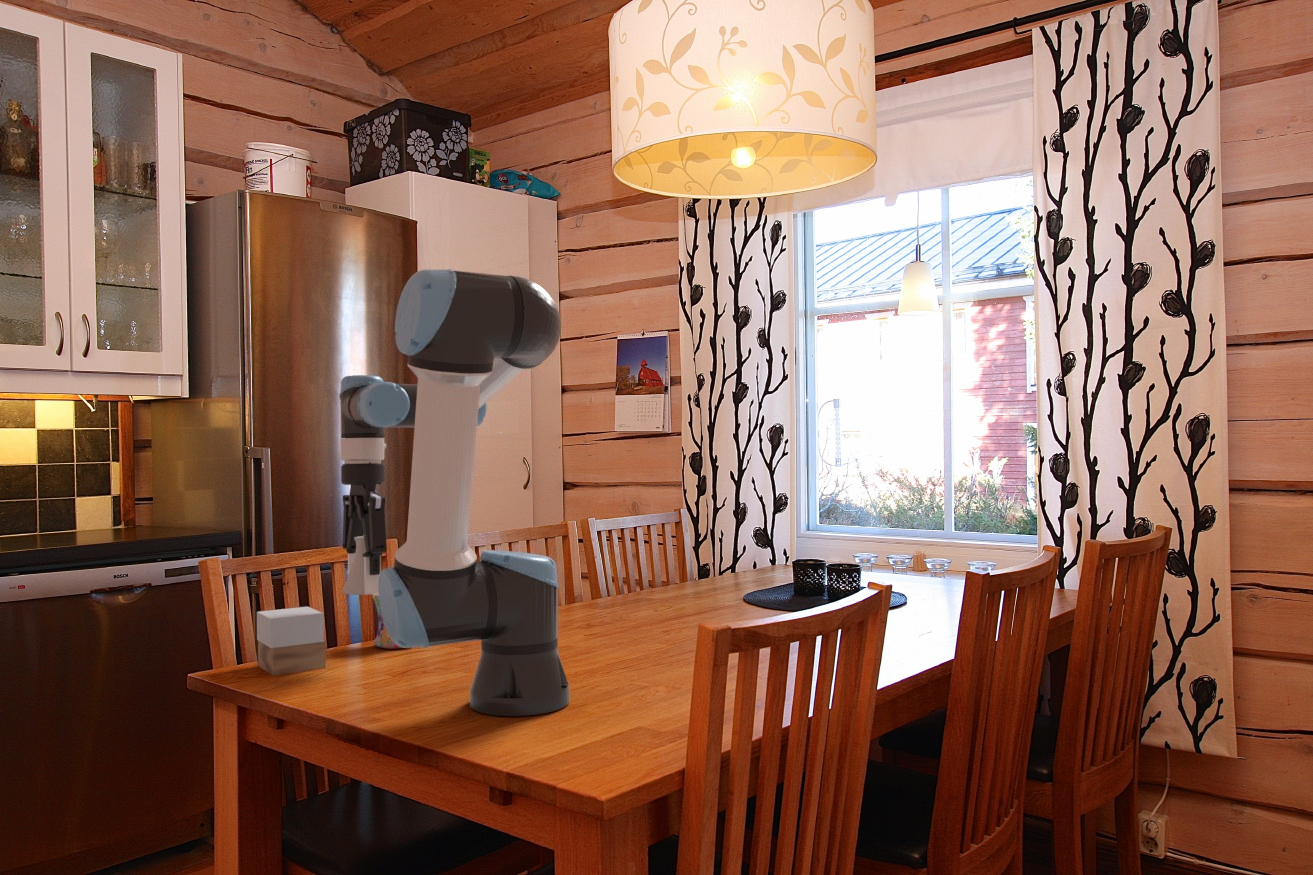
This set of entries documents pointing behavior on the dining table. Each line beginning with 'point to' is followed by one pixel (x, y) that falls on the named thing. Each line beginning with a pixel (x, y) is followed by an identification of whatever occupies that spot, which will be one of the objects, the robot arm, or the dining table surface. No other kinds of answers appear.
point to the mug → (382, 629)
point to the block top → (290, 627)
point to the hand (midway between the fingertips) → (364, 591)
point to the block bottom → (291, 658)
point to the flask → (356, 570)
